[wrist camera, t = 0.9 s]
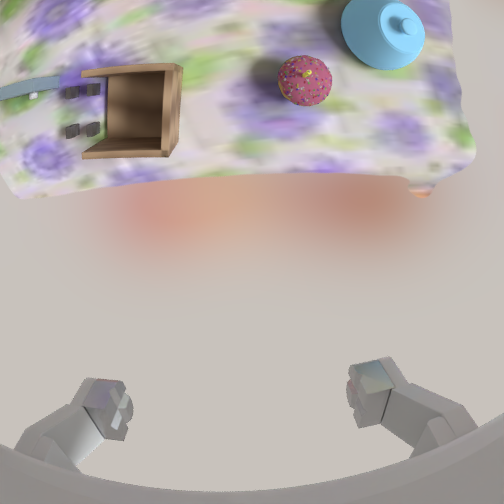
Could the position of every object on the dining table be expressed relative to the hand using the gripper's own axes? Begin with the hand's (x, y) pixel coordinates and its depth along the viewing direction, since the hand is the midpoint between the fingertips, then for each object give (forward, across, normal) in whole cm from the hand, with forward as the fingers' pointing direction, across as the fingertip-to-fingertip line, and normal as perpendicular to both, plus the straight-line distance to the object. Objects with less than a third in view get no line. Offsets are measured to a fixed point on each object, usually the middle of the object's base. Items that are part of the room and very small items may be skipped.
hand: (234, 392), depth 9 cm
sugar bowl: (+40, -27, -31) cm, 57 cm away
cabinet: (+41, +18, -19) cm, 48 cm away
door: (+37, +35, -28) cm, 58 cm away
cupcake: (+42, -12, -20) cm, 48 cm away
